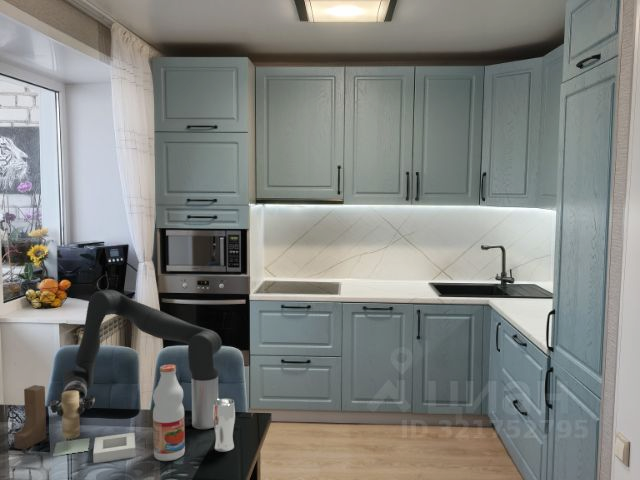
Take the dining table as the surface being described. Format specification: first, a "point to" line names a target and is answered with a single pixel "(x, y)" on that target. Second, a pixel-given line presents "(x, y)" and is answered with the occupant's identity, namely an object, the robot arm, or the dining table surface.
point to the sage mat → (71, 447)
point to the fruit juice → (168, 416)
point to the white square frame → (114, 447)
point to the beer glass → (224, 424)
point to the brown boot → (32, 418)
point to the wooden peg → (70, 414)
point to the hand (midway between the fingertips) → (70, 412)
